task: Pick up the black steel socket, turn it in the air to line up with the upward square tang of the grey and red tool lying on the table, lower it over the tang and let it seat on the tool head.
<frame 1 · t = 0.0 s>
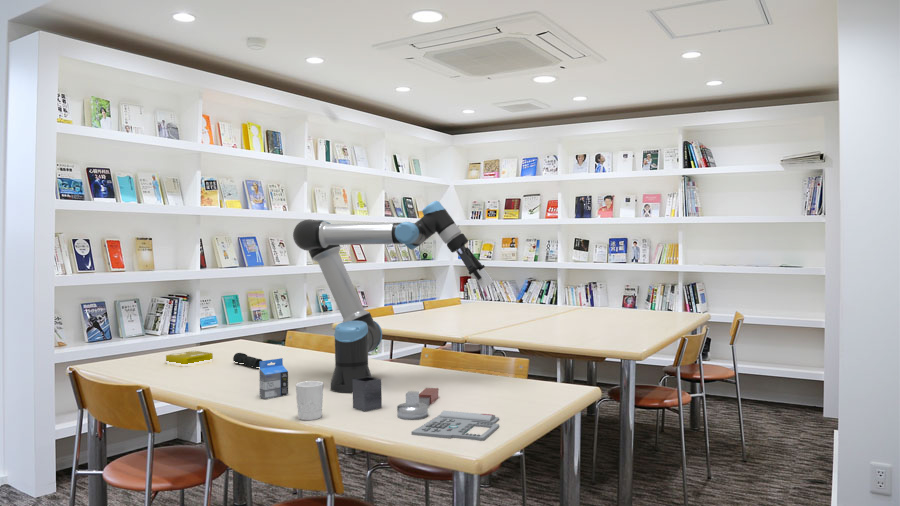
hand: (488, 285, 232), 36 cm above the table, tool tilted 35°, fingers open, 13 cm apart
grey and red tool: (412, 416, 189), on the table
flashlight: (248, 367, 274), on the table
white cup: (310, 418, 189), on the table
element tile: (189, 364, 284), on the table
office telephone: (461, 429, 177), on the table
label tape cartridge: (274, 397, 217), on the table
socket: (367, 408, 199), on the table
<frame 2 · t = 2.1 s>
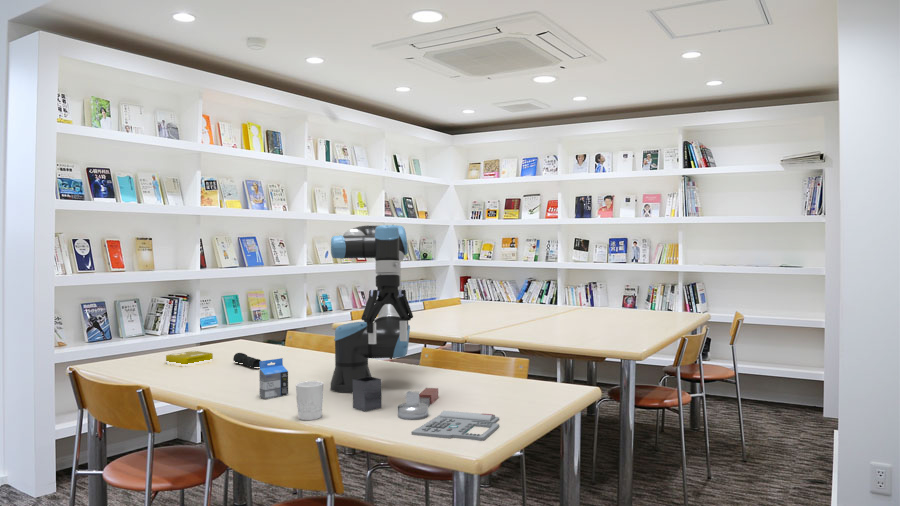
hand: (388, 342, 199), 20 cm above the table, tool pointing down, fingers open, 13 cm apart
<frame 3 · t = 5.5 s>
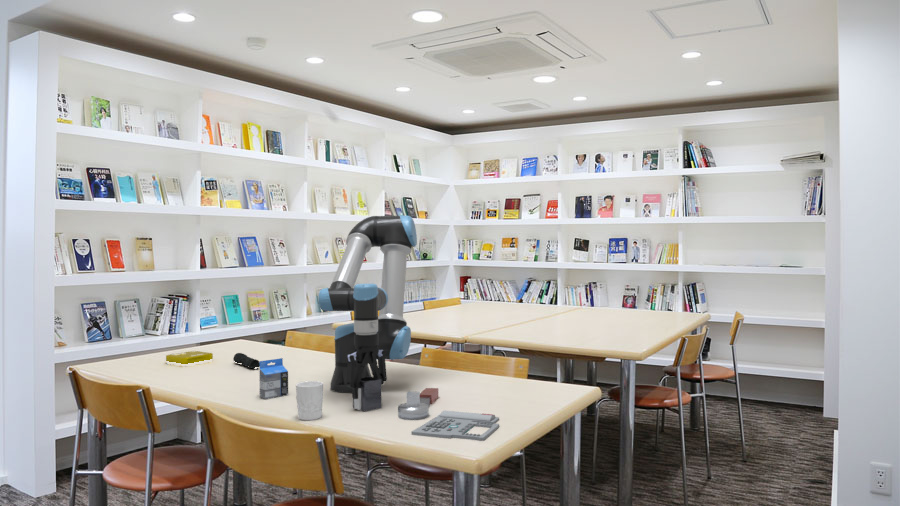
hand: (367, 406, 199), 0 cm above the table, tool pointing down, fingers closed on socket, 6 cm apart
socket: (367, 408, 199), on the table, touching gripper
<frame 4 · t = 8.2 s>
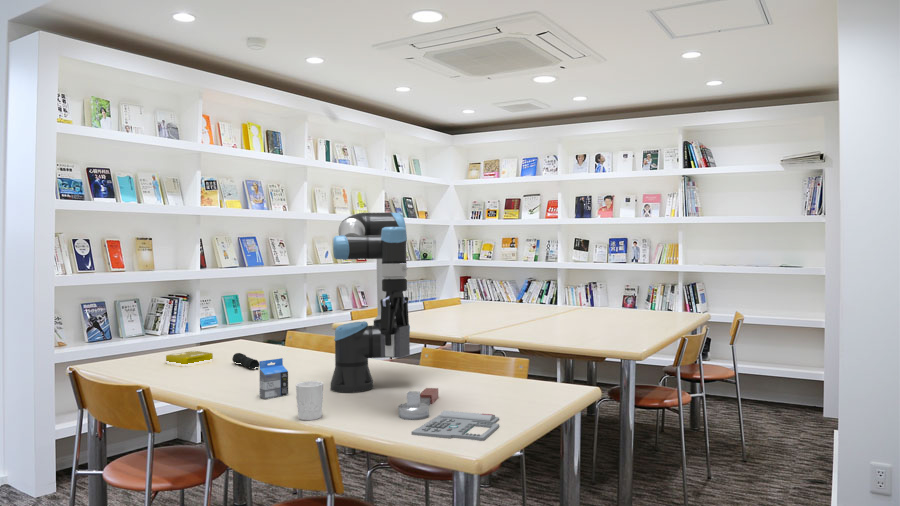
hand: (395, 354, 192), 18 cm above the table, tool pointing down, fingers closed on socket, 6 cm apart
socket: (395, 355, 192), point 17 cm above the table, touching gripper
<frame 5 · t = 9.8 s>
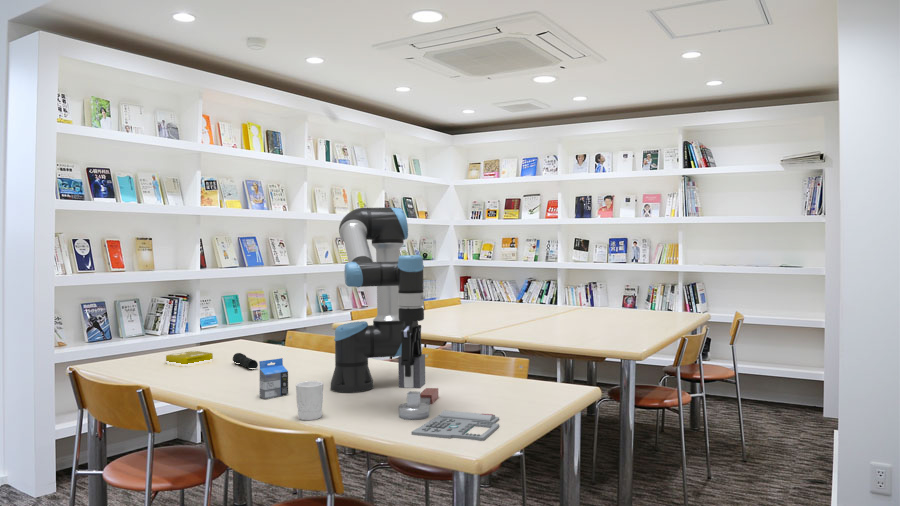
hand: (412, 384, 189), 9 cm above the table, tool pointing down, fingers closed on socket, 6 cm apart
socket: (412, 385, 189), point 9 cm above the table, touching gripper
when the fingers open (5 cm above the table, at t = 11.3 s): socket drops 2 cm, resting on grey and red tool.
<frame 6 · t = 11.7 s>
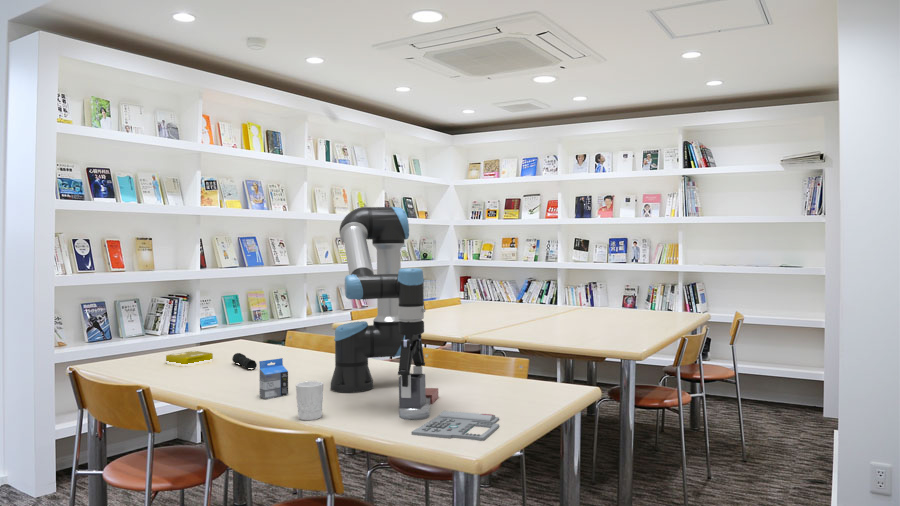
hand: (412, 392, 189), 7 cm above the table, tool pointing down, fingers open, 12 cm apart
grey and red tool: (414, 416, 189), on the table, touching socket
socket: (412, 405, 189), point 3 cm above the table, touching grey and red tool
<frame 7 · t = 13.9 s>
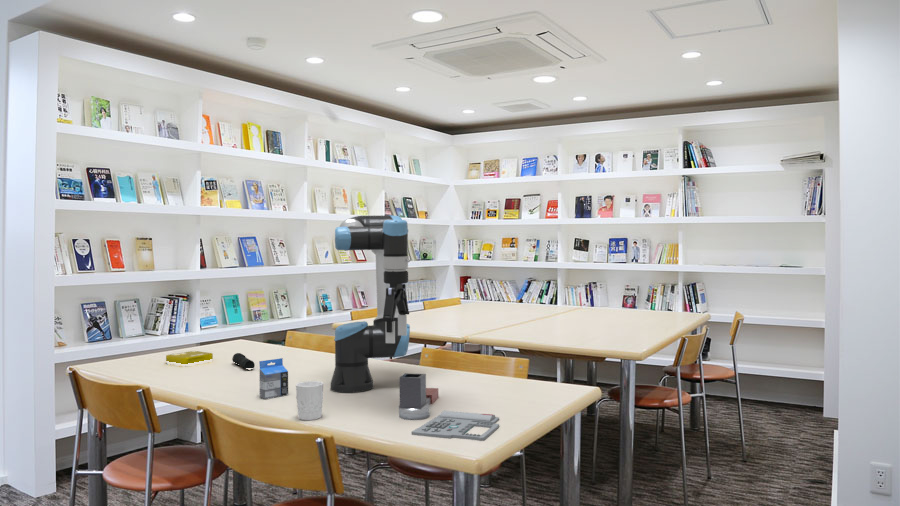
hand: (396, 339, 196), 22 cm above the table, tool pointing down, fingers open, 13 cm apart
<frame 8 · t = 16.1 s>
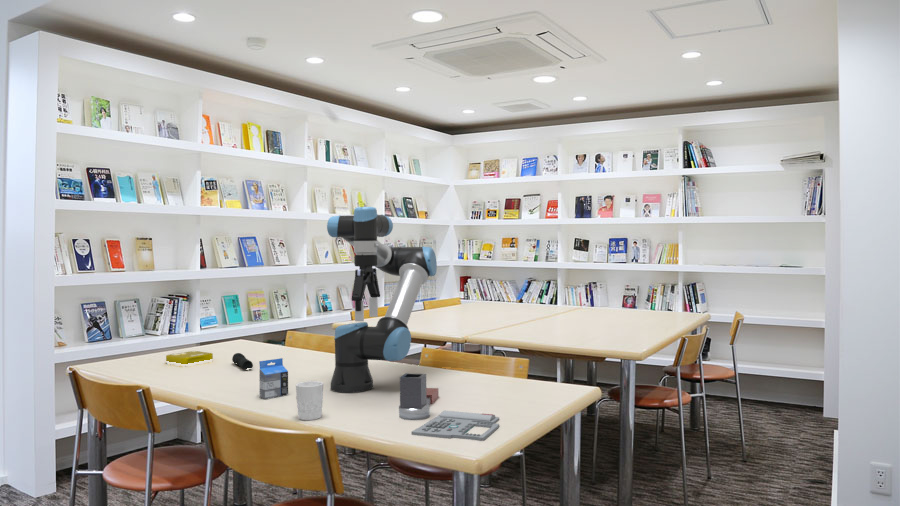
hand: (366, 319, 209), 27 cm above the table, tool pointing down, fingers open, 13 cm apart
at the end: socket 0.3 cm off-centre on the grey and red tool, point 3.0 cm above the grey and red tool's base; socket tilted 0°; grey and red tool moved 0.6 cm from its start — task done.
